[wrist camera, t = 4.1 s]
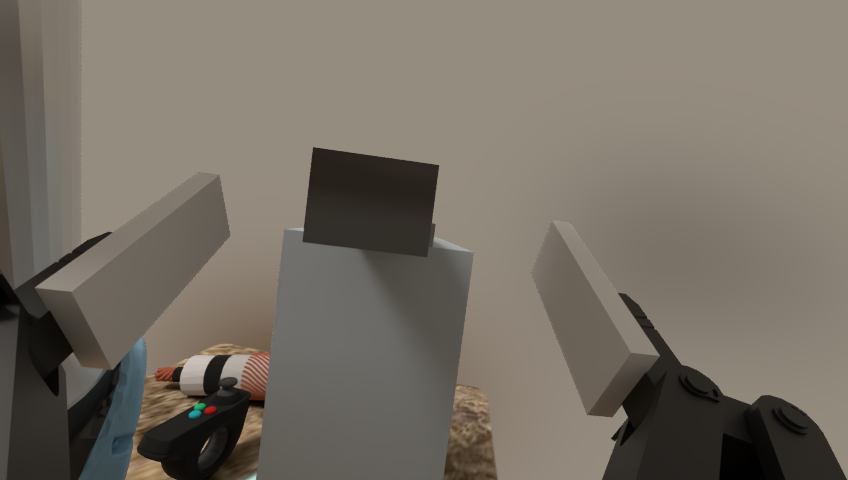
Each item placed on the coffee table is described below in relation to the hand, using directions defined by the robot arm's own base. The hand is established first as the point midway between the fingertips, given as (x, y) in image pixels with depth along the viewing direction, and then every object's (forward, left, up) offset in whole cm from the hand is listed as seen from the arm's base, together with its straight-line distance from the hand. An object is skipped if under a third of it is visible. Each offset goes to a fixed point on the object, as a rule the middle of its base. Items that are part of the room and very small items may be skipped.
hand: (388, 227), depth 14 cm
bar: (-5, +8, -1) cm, 10 cm away
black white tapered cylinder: (-37, +29, -32) cm, 57 cm away
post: (-9, +15, -32) cm, 36 cm away
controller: (-29, +13, -32) cm, 45 cm away
